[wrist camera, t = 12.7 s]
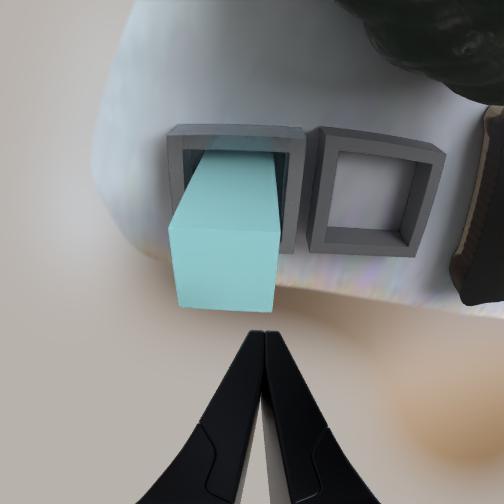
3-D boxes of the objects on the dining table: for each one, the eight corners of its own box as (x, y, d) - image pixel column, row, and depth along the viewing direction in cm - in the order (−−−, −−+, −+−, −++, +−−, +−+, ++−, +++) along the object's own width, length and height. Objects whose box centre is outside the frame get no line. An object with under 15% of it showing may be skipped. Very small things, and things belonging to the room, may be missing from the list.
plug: (272, 152, 19) (280, 232, 11) (268, 210, 21) (272, 312, 14) (206, 149, 19) (167, 227, 11) (207, 207, 21) (179, 307, 14)
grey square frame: (431, 143, 18) (446, 154, 16) (405, 241, 22) (414, 257, 20) (320, 126, 18) (326, 135, 16) (305, 235, 22) (309, 252, 20)
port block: (301, 127, 18) (306, 139, 16) (290, 232, 22) (293, 254, 20) (177, 124, 18) (166, 135, 16) (184, 227, 22) (176, 248, 20)
